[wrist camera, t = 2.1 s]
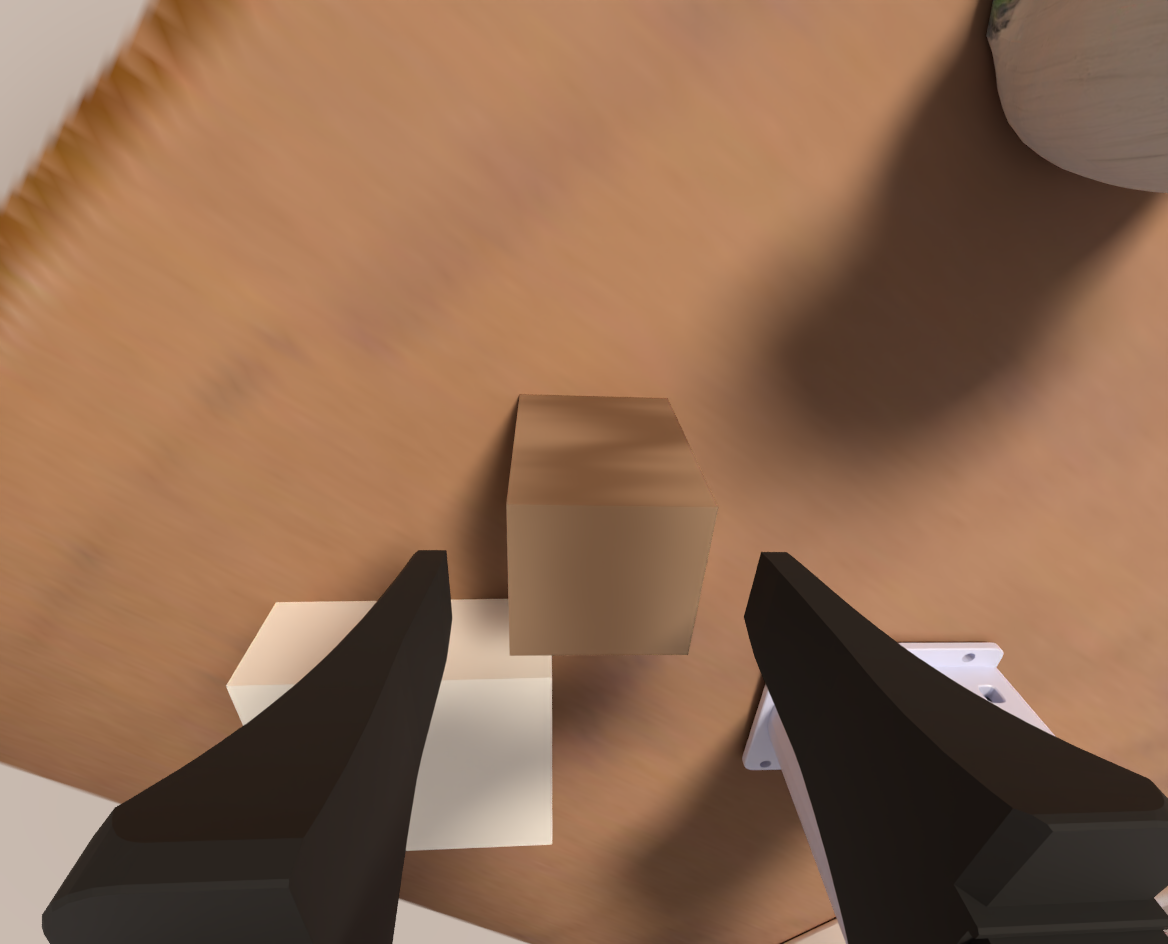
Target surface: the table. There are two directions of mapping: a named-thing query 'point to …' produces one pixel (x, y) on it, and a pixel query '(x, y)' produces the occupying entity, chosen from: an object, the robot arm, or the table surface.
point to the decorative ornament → (1087, 85)
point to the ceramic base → (439, 720)
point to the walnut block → (604, 528)
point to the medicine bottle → (821, 935)
